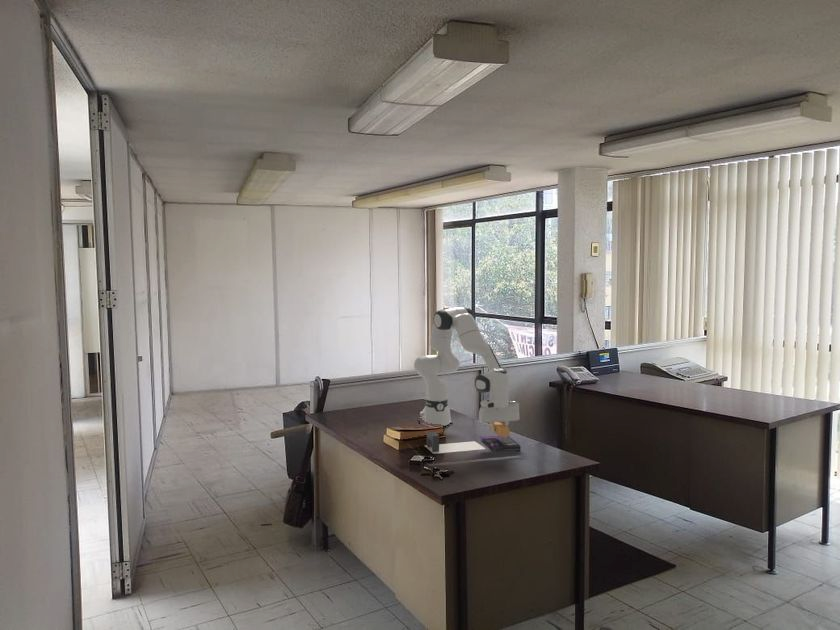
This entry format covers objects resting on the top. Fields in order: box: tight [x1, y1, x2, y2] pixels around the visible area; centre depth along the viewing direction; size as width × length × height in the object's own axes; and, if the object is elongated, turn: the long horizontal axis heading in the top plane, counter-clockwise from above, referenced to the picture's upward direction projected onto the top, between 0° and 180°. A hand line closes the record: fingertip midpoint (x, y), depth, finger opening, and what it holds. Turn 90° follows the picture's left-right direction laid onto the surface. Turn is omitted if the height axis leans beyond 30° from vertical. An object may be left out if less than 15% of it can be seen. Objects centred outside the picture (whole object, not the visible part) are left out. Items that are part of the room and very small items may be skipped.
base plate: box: [424, 440, 486, 454], centre depth 291 cm, size 14×26×1 cm, turn 107°
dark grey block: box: [426, 430, 440, 452], centre depth 288 cm, size 10×3×7 cm, turn 17°
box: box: [480, 435, 522, 452], centre depth 296 cm, size 14×4×20 cm
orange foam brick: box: [489, 422, 510, 437], centre depth 295 cm, size 4×14×4 cm, turn 17°
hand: (499, 430), depth 295 cm, fingers closed on orange foam brick, 4 cm apart
